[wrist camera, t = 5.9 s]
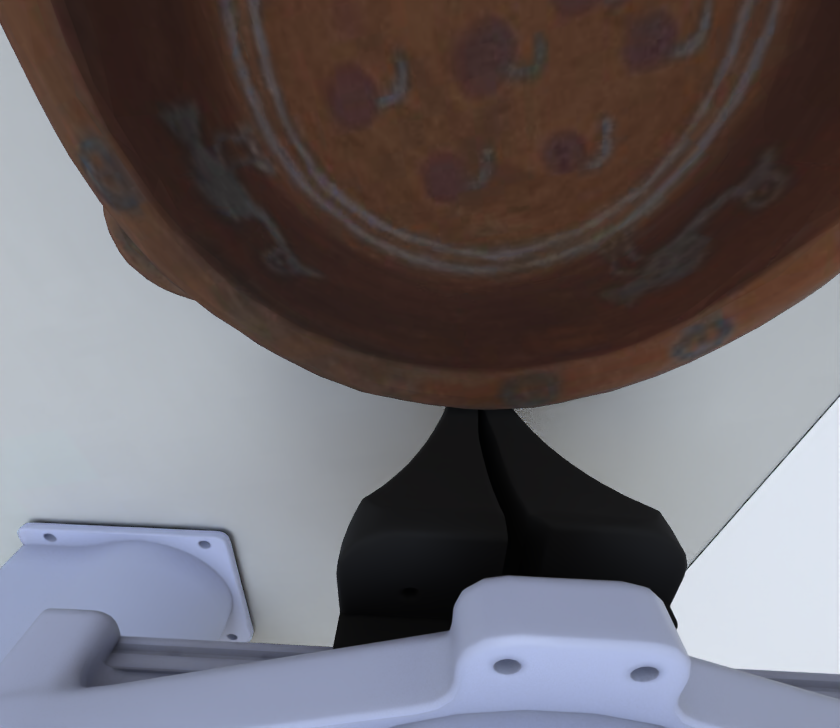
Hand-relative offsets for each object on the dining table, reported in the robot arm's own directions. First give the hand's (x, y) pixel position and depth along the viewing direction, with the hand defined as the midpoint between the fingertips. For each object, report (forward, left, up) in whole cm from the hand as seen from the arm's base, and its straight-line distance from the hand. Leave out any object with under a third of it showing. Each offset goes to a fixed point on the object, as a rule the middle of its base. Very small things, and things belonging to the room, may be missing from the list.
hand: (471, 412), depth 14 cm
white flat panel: (+21, -10, -3) cm, 24 cm away
